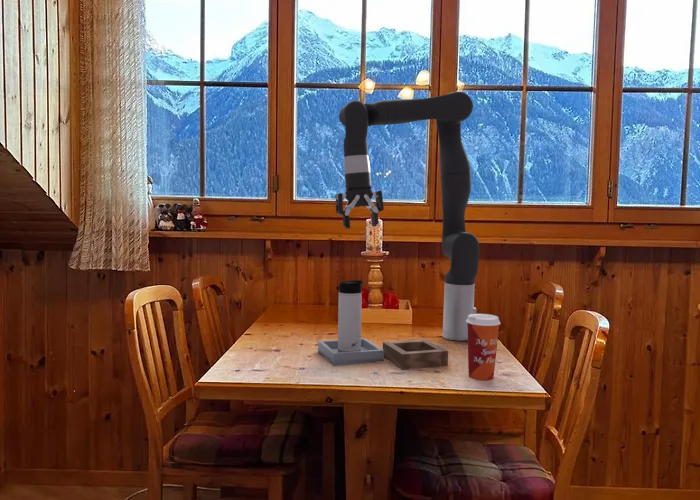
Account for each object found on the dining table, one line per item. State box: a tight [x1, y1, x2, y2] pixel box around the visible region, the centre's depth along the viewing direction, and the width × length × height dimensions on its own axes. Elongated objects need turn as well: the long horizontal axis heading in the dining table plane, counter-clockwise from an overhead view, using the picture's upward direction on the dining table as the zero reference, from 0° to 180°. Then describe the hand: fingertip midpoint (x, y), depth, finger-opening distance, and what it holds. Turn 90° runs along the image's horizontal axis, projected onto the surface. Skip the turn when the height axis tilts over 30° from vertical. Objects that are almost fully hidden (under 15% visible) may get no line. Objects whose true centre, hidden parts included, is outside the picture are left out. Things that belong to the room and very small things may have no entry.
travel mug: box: [337, 279, 364, 352], centre depth 162 cm, size 6×7×20 cm
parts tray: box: [317, 337, 385, 366], centre depth 162 cm, size 14×14×3 cm
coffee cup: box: [466, 313, 501, 381], centre depth 146 cm, size 8×8×15 cm
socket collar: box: [382, 339, 449, 371], centre depth 159 cm, size 13×13×4 cm
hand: (361, 227), depth 175 cm, fingers open, 8 cm apart
